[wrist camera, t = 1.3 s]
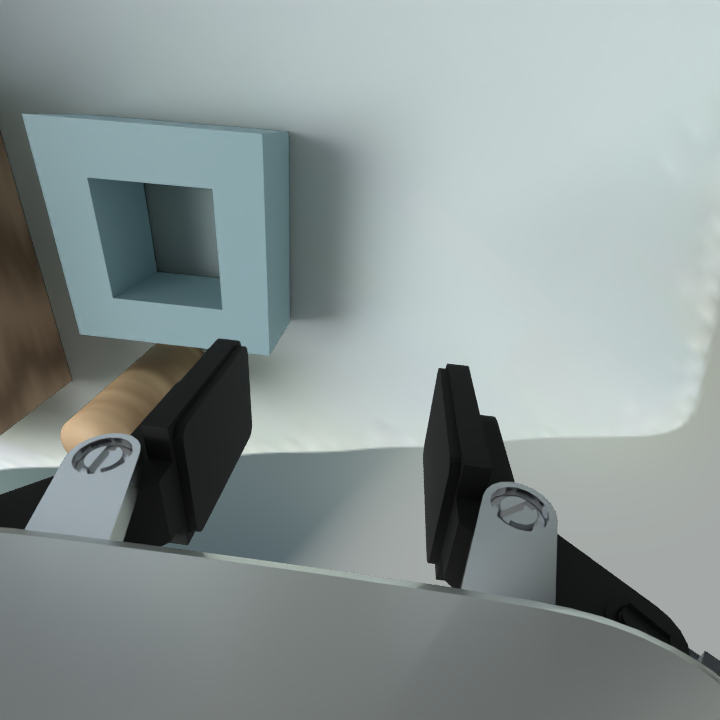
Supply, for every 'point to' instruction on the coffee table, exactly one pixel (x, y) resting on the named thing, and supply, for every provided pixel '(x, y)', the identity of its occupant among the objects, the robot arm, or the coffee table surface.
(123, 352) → the coffee table surface
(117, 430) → the dowel
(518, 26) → the coffee table surface
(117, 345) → the coffee table surface
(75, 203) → the socket block
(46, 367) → the wall
